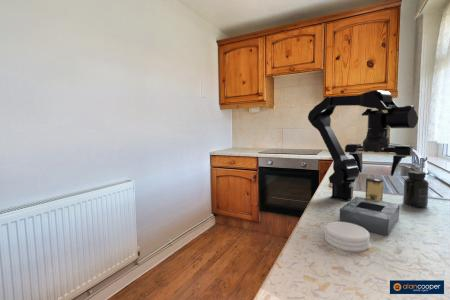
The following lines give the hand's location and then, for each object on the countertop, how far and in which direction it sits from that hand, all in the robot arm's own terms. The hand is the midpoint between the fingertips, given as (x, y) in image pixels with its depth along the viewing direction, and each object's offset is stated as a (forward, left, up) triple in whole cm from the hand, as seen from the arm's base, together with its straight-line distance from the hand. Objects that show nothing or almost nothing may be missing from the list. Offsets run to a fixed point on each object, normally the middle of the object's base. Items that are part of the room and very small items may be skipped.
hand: (375, 174), depth 81 cm
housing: (+2, -14, -12) cm, 18 cm away
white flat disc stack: (+1, -32, -12) cm, 34 cm away
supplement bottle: (+10, +12, -12) cm, 20 cm away
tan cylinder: (0, 0, -12) cm, 12 cm away
